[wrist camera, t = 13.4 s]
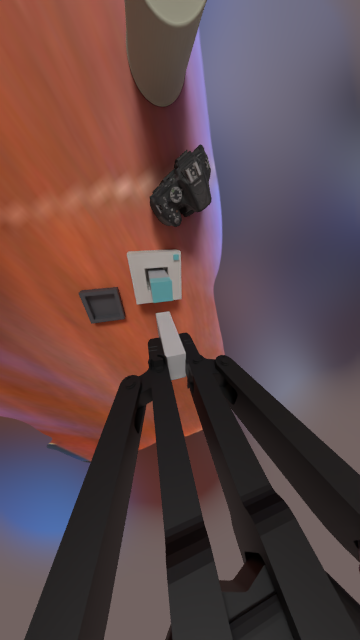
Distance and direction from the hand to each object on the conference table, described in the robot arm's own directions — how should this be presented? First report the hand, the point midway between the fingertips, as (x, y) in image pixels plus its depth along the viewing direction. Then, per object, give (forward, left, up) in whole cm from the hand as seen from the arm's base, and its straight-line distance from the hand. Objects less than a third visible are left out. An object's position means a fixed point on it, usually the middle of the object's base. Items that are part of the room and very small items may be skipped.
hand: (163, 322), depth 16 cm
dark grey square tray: (-14, -8, -27) cm, 31 cm away
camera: (+8, +16, -27) cm, 32 cm away
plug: (+1, -1, -26) cm, 26 cm away
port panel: (+1, -1, -27) cm, 27 cm away
